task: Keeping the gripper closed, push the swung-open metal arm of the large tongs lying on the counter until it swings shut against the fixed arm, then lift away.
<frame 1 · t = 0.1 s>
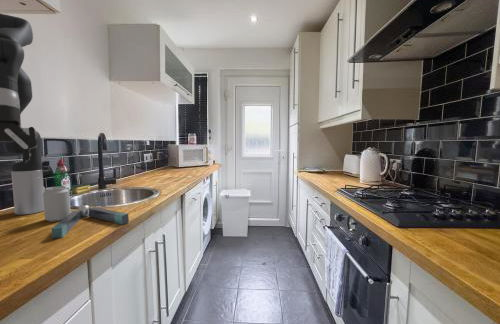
hand: (4, 163, 67), 22 cm above the counter, tool pointing down, fingers open, 8 cm apart
tong base: (84, 216, 91), on the counter
tong arm: (107, 215, 87), point 2 cm above the counter, hinge at 40.0°
can: (58, 219, 89), on the counter
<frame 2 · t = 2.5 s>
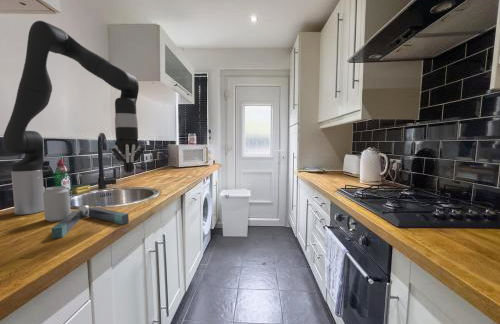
hand: (128, 172, 91), 17 cm above the counter, tool pointing down, fingers closed
nothing on the counter moved.
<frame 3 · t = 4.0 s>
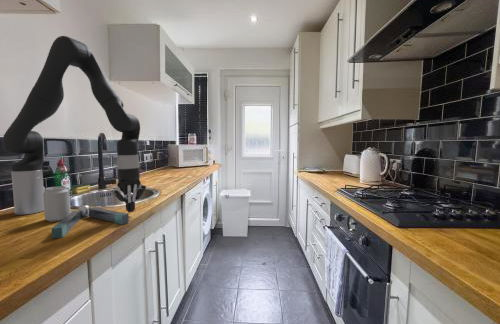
hand: (130, 211, 92), 2 cm above the counter, tool pointing down, fingers closed
nothing on the counter moved.
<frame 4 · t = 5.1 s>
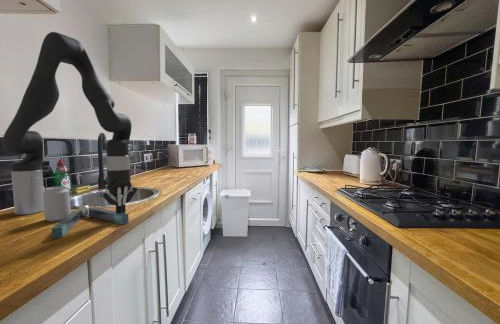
hand: (120, 214, 88), 1 cm above the counter, tool pointing down, fingers closed
tong arm: (107, 215, 87), point 2 cm above the counter, hinge at 39.9°, touching gripper
everything else where it was.
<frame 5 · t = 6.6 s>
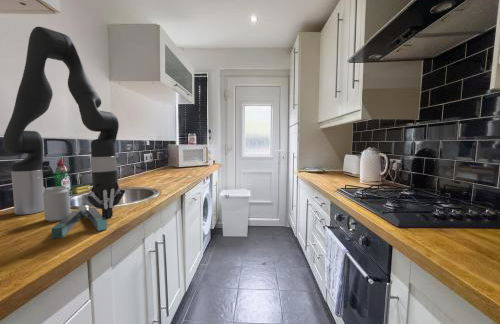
hand: (107, 218, 84), 2 cm above the counter, tool pointing down, fingers closed
tong arm: (96, 218, 84), point 2 cm above the counter, hinge at 20.5°, touching gripper
everything else where it was.
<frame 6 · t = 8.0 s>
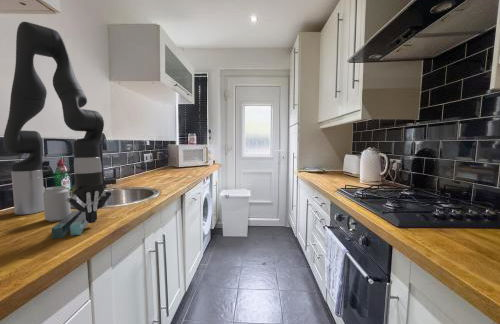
hand: (91, 222, 80), 2 cm above the counter, tool pointing down, fingers closed
tong arm: (82, 220, 81), point 2 cm above the counter, hinge at 2.3°, touching gripper
everything else where it was.
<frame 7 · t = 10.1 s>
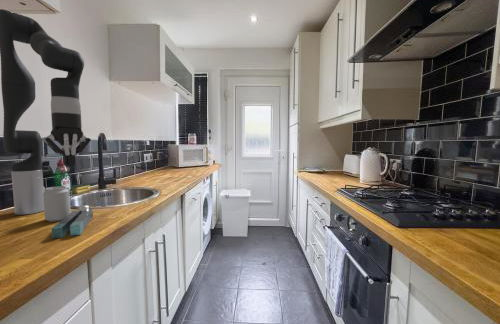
hand: (69, 166, 78), 20 cm above the counter, tool pointing down, fingers closed
tong arm: (82, 220, 81), point 2 cm above the counter, hinge at 2.2°
everything else where it was.
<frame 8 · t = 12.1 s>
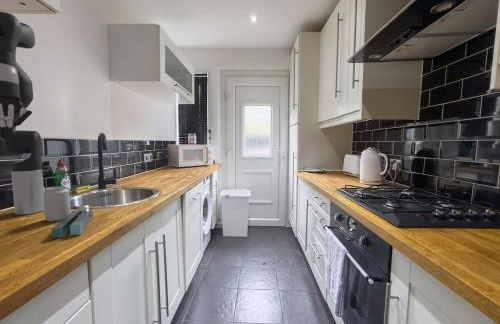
hand: (6, 140, 72), 29 cm above the counter, tool pointing down, fingers closed
nothing on the counter moved.
at the end: tong arm at +2° (first picture: +40°); can moved 0.2 cm from its start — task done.
